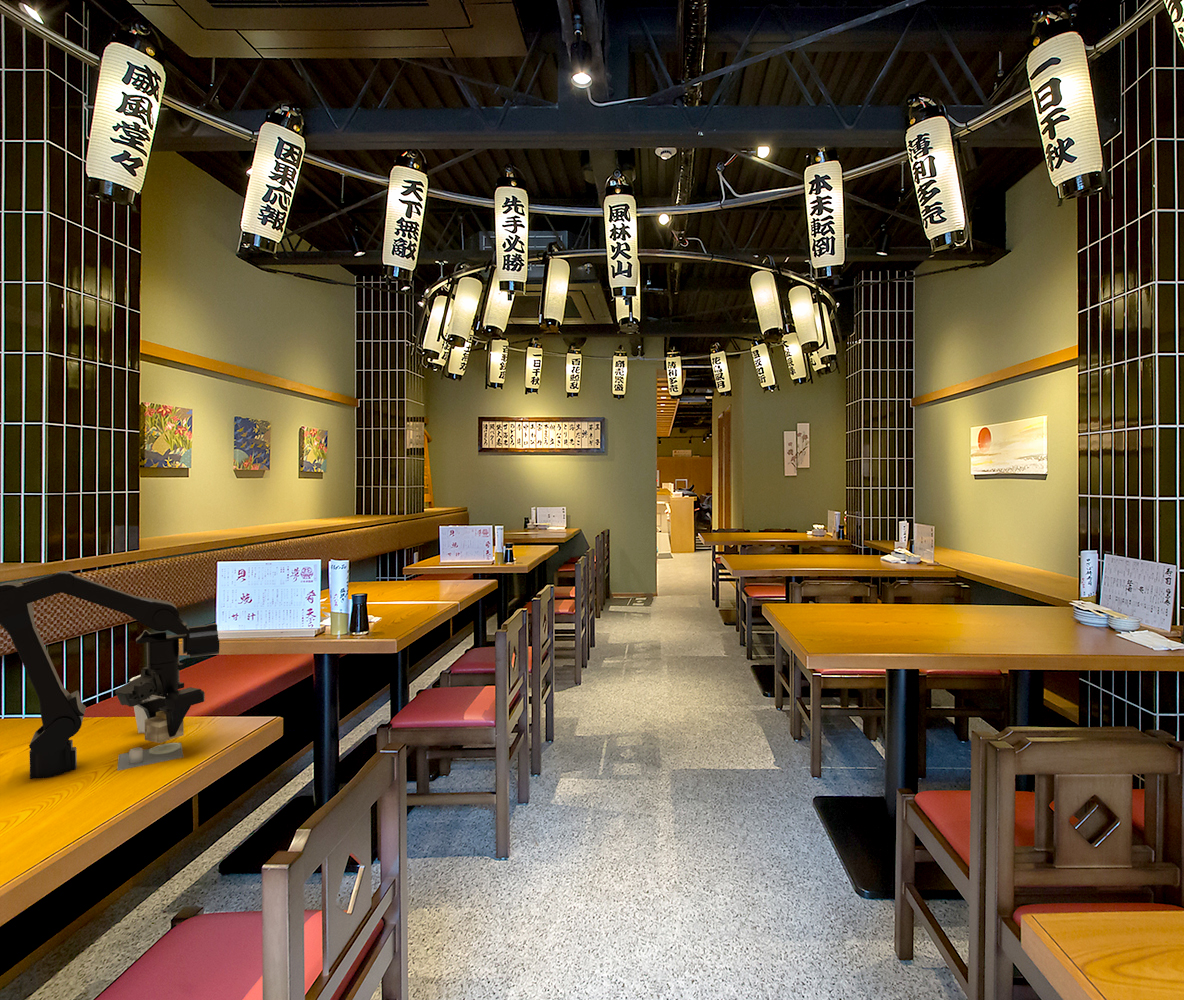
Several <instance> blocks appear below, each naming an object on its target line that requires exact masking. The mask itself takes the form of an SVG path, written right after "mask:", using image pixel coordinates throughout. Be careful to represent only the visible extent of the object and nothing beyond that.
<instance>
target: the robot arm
mask: <svg viewBox="0 0 1184 1000" xmlns="http://www.w3.org/2000/svg"><path fill="white" fill-rule="evenodd" d="M60 593H62V594H66V595H69V596H71V597H75V598H78V599H80V600H84V601H86V602H89V603H92V604H96V605H99V606H102V607H104V608H107V609H110V610H114V611H117V612H119V613H123V614H125V615H127V616H129V617H131V618H132V619H134V620H135V621H136V622H139V623H140V624H142V625H145V626H146V627H148V628H149V629H151V630H154V631H155V632H149V631H148V630H147V629H144V630H143V632H142V633H141V634H140V635H139V636H138V637H136V638H135V643H136V644H146V666H145V667H142V669H141V670H140V675H141V677H139V678H137V679H134V680H132V681H131V682H130V681H129V682H127V683H125V684H124V685H122V686H120V687H119V688H117V689H116V690H115V691H114V692H115V695H116V696H117V699H118V701H119V704H120V705H121V706H128V707H131V708H134V706H136V705H137V706H139V707H141V708H142V709H143V710H144V711H145V713H146V716H147V718H148V719H149V718H152V717H156V712H159V711H163V712H164V713H165V714H166V720H167V728H168V733H169V737H173V736H175V735H176V733H177V731H178V729H179V727H180V725H181V723H182V721H183V722H184V719H185V717H186V715H187V714H188V711H189V710H190V708H191V707H192V706H194V705H198V704H201V703H203V702H205V701H206V699H205V697H206V696H205V693H206V692H205V691H204V690H203V689H201V688H198V687H192V686H191V687H190V686H189V687H186V688H185V682H183V681H182V682H181V681H180V670H183V669H185V663H181V662H180V640H181V642H182V643H181V645H182V646H181V647H182V655H186V656H188V659H190V658H198V657H199V658H200V657H204V656H205V657H206V656H214V655H219V654H220V639H219V631H218V624H217V623H215V622H213V623H208V624H203V625H193V626H188V624H187V622H186V621H183V620H182V619H181V618H180V613H179V610H178V608H177V606H176V605H175V604H174V603H173V602H171V601H168V600H163V599H159V598H153V597H145V596H138V595H133V594H131V593H128V592H126V591H123V590H122V591H121V590H119V589H116V588H114V587H111V586H108V585H105V584H102V583H100V582H96V581H93V580H91V579H88V578H85V577H82V576H79V575H77V574H75V573H73V572H72V571H68V570H61V571H57V572H56V573H54V574H50V575H47V576H44V577H39V578H35V579H32V580H29V581H25V582H22V583H20V582H16V581H8V582H4V583H2V584H0V626H1V627H2V628H3V629H4V630H5V631H6V633H8V636H10V639H11V641H12V643H13V645H14V647H15V650H16V652H17V654H18V656H19V659H20V661H21V663H22V665H23V667H24V669H25V671H26V674H27V675H28V678H29V680H30V683H31V685H32V686H33V688H34V692H35V693H36V695H37V698H38V701H39V710H40V717H41V724H42V725H41V726H40V727H39V728H38V729H37V730H36V731H35V732H34V734H33V735H32V738H31V741H30V742H29V745H28V747H29V780H34V779H35V780H36V779H37V780H40V779H49V778H53V777H57V776H61V775H63V774H66V773H70V772H72V771H76V770H77V766H78V764H77V763H78V762H77V761H78V760H77V758H78V757H77V755H78V754H77V746H73V744H74V743H73V739H71V738H72V737H73V736H75V735H76V734H77V733H78V732H79V731H80V729H81V728H82V724H83V720H84V717H85V713H86V710H87V709H86V708H87V706H86V705H85V704H84V703H83V702H82V700H81V697H80V691H79V690H75V691H73V692H71V693H70V692H69V691H68V690H67V689H66V688H65V687H64V686H63V683H62V681H61V679H60V677H59V674H58V672H57V670H56V668H55V666H54V663H53V661H52V659H51V657H50V654H49V652H48V650H47V647H46V645H45V644H44V642H43V639H42V637H41V635H40V633H39V630H38V628H37V626H36V621H35V617H34V616H35V615H34V606H33V602H37V601H40V600H44V599H45V598H48V597H51V596H54V595H57V594H60ZM167 631H169V632H171V633H173V634H167ZM167 694H168V695H167Z"/></svg>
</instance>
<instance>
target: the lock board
mask: <svg viewBox="0 0 1184 1000" xmlns="http://www.w3.org/2000/svg"><path fill="white" fill-rule="evenodd" d="M181 758H184V752H183V746H182V742H168V743H163V744H162V743H161V744H159V745H156V746H153V747H151V748H146V749H143V747H133V748H131V749H129V751H128V752H125V753H121V754H118V760H117V769H116V770H117V772H118V771H124V770H128V769H133V768H138V767H143V766H148V765H153V764H156V763H161V762H166V761H171V760H177V759H181Z"/></svg>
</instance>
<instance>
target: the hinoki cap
mask: <svg viewBox="0 0 1184 1000" xmlns="http://www.w3.org/2000/svg"><path fill="white" fill-rule="evenodd" d="M184 726H185V725H184V720H183V721H182V723H181V725H180V727H179V729H178V731H177V733H176V735H175V736H173V737H169V733H168V728H167V720H166V714H165V713H164V712H163V711H159V712H156V717H152V718H149V719H145V733H144V740H145V741H149V742H153V743H157V744H162V743H165V742H167V741H171V740H173V739H177V738H179V737H182V736H184V735H185V732H184V728H185V727H184Z"/></svg>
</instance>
